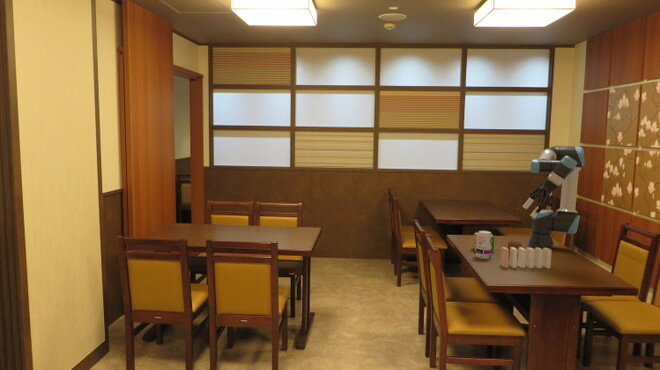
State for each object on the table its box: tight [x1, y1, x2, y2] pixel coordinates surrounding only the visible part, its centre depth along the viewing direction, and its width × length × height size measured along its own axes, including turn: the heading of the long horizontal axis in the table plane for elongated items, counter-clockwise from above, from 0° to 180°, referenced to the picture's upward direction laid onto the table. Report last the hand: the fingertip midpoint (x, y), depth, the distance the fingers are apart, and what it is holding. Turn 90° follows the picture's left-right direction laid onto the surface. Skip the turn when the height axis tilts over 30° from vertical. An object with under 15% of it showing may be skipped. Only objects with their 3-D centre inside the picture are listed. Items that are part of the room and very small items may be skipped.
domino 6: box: [542, 248, 553, 269], centre depth 260 cm, size 2×5×10 cm, turn 2°
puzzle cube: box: [472, 232, 495, 254], centre depth 294 cm, size 10×10×10 cm
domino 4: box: [525, 247, 535, 269], centre depth 260 cm, size 2×5×10 cm, turn 2°
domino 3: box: [517, 246, 527, 269], centre depth 260 cm, size 2×5×10 cm, turn 2°
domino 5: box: [533, 248, 543, 269], centre depth 260 cm, size 2×5×10 cm, turn 2°
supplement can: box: [475, 230, 493, 260], centre depth 277 cm, size 8×8×15 cm
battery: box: [507, 240, 523, 260], centre depth 278 cm, size 4×7×10 cm, turn 89°
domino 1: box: [500, 246, 509, 269], centre depth 259 cm, size 2×5×10 cm, turn 2°
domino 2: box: [508, 247, 518, 269], centre depth 260 cm, size 2×5×10 cm, turn 2°
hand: (528, 212), depth 270 cm, fingers open, 13 cm apart
